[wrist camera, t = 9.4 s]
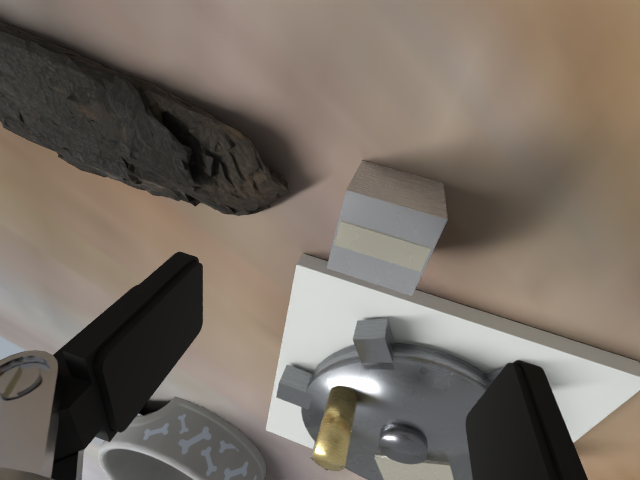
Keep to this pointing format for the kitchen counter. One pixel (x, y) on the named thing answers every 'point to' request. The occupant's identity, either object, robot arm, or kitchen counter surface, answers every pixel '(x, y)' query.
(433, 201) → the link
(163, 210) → the kitchen counter surface
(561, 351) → the base plate
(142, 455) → the dog bowl
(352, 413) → the sprocket
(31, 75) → the wood
